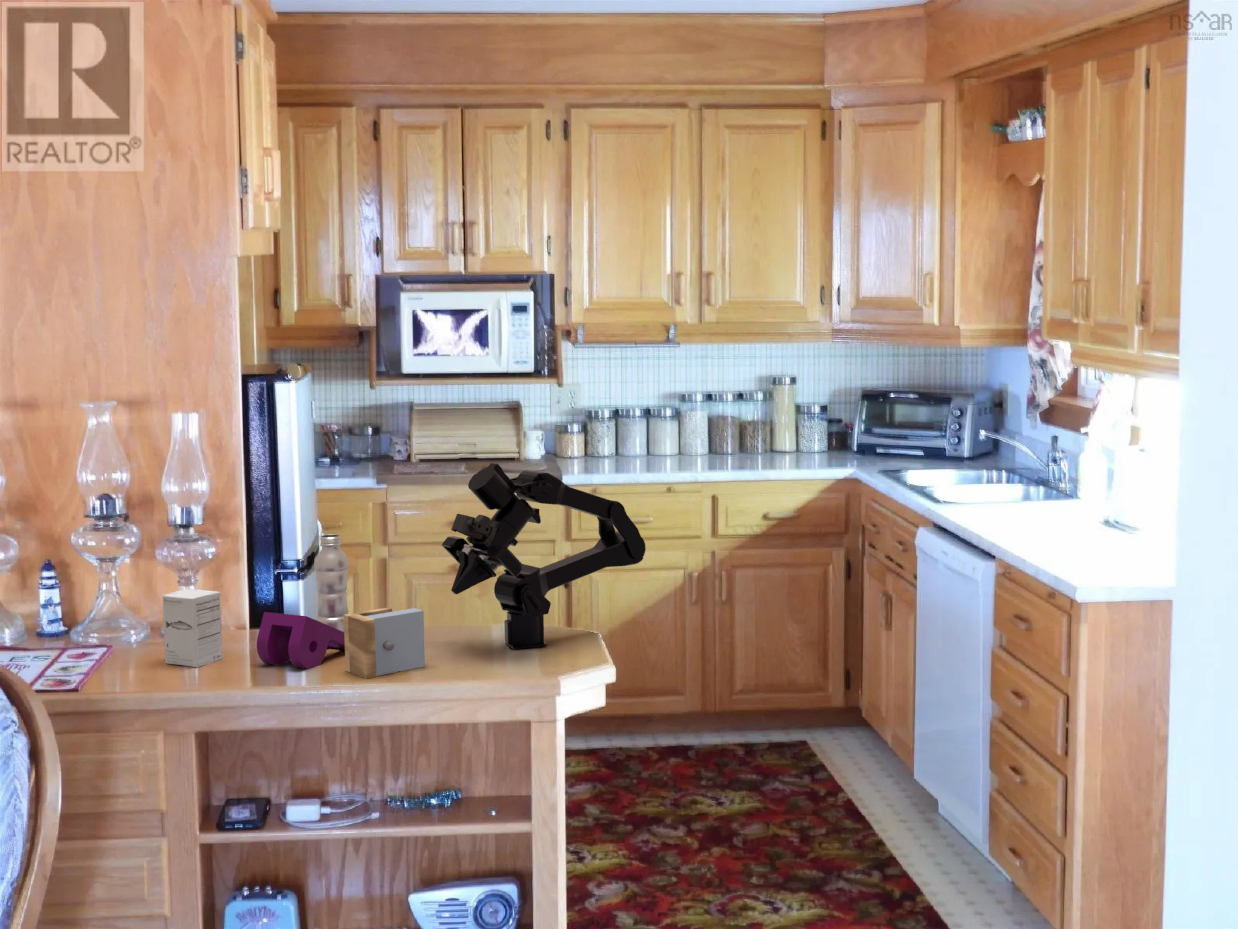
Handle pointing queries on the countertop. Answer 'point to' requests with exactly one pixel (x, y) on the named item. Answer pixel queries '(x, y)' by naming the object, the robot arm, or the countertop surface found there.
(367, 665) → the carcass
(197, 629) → the supplement box
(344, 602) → the plastic bottle
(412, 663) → the pale grey oblong block
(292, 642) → the mounting bracket
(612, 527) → the robot arm
